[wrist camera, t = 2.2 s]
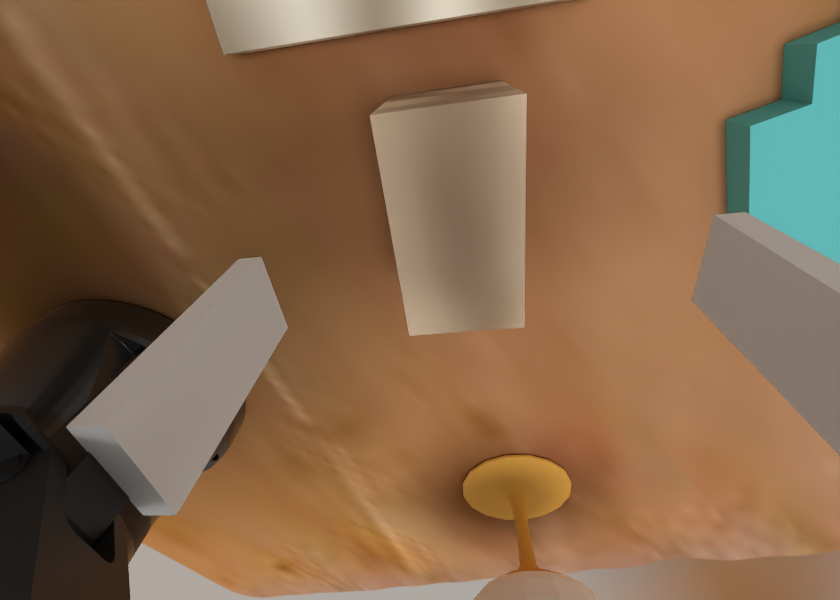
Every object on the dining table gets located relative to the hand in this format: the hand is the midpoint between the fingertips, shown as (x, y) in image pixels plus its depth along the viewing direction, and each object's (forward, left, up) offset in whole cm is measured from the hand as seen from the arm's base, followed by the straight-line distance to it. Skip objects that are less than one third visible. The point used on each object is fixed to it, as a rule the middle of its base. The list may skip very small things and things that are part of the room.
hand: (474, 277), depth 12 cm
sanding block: (0, 0, -10) cm, 10 cm away
